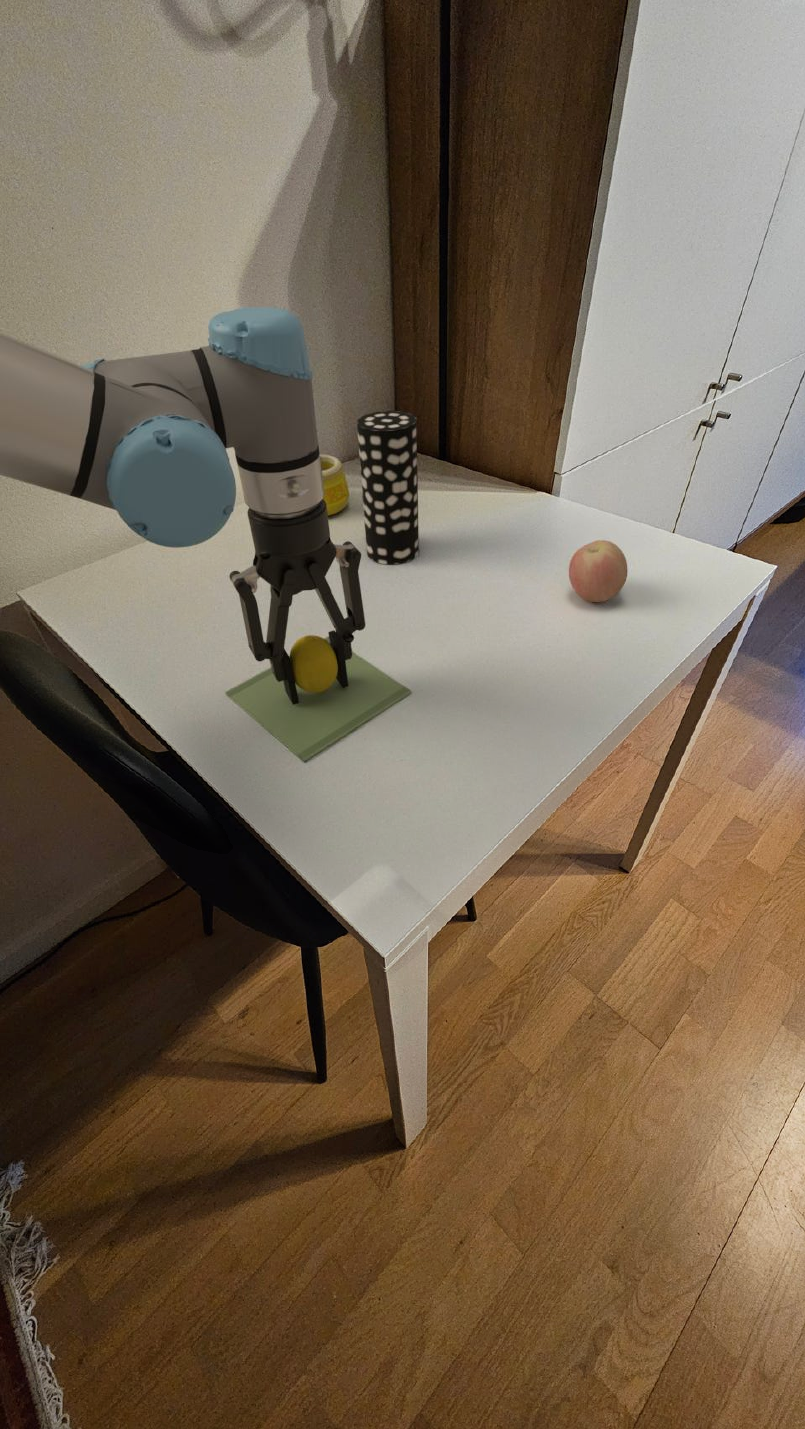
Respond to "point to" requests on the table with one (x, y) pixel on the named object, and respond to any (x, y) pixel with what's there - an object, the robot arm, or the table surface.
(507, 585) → the table surface
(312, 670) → the lemon
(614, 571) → the apple
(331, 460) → the yellow pot
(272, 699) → the napkin
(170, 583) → the table surface
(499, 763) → the table surface
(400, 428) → the white-spotted black cylinder
